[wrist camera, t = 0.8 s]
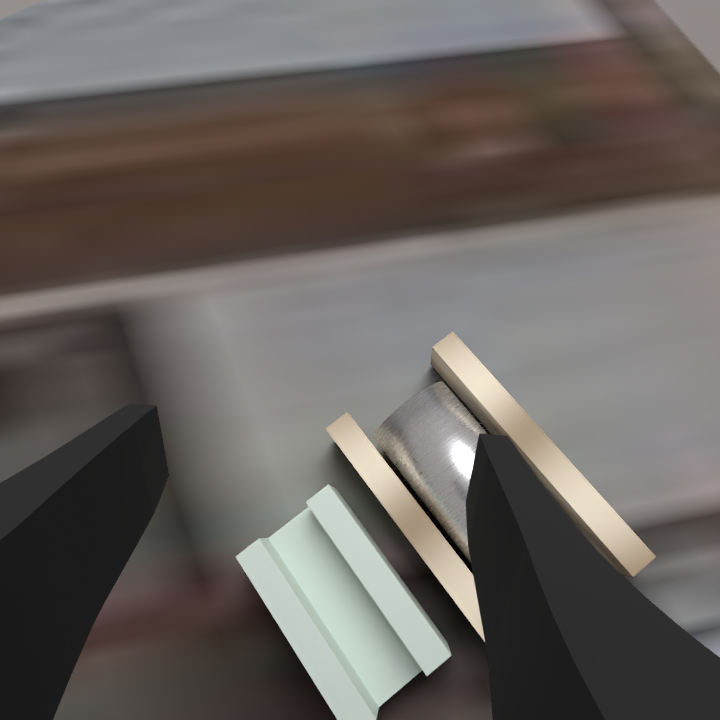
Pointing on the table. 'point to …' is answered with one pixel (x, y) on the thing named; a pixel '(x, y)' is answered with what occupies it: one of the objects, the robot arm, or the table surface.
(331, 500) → the v block
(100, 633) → the table surface
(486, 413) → the parallel rails
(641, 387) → the table surface
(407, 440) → the axle
